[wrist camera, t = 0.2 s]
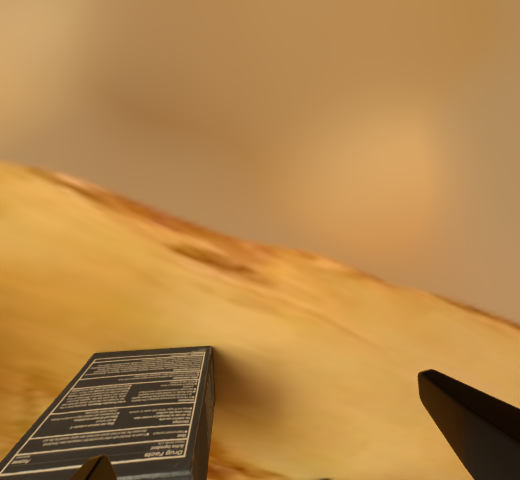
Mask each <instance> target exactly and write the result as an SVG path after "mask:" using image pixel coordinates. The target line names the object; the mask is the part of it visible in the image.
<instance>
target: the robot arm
mask: <svg viewBox="0 0 520 480" xmlns="http://www.w3.org/2000/svg"><path fill="white" fill-rule="evenodd" d="M418 386H419V395H420V399H421V401H422V403H423V405H424V407H425V408H426V410H427V411H428V413H429V414H430V416H431V417H432V419H433V420H434V422H435V423H436V425H437V426H438V428H439V429H440V431H441V432H442V434H443V435H444V437H445V438H446V440H447V441H448V443H449V444H450V446H451V447H452V449H453V450H454V452H455V453H456V455H457V456H458V458H459V459H460V460H461V462H462V463H463V465H464V466H465V468H466V469H467V470H468V472H469V473H470V474H471V476H472V477H473V478H474V480H520V409H519V408H517V407H514V406H512V405H510V404H508V403H506V402H503V401H501V400H499V399H497V398H495V397H493V396H490V395H488V394H486V393H484V392H482V391H480V390H477V389H475V388H473V387H471V386H469V385H466V384H464V383H462V382H460V381H458V380H456V379H453V378H451V377H449V376H447V375H445V374H443V373H440V372H438V371H436V370H433V369H429V370H425V371H422V372H419V373H418ZM69 480H117V476H116V473H115V471H114V468H113V466H112V464H111V462H110V459H109V457H108V456H107V455H105V454H103V455H99V456H95V457H92V458H90V459H88V460H87V461H86V462H85V463H84V464H83V465H82V466H81V467H80V468H79V469H78V471H77V472H76V473H75V474H74V475H73V476H72V477H71V478H70V479H69Z"/></svg>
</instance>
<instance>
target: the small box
mask: <svg viewBox="0 0 520 480" xmlns="http://www.w3.org/2000/svg"><path fill="white" fill-rule="evenodd" d="M214 405H215V386H214V365H213V348H212V347H211V346H203V347H187V348H171V349H155V350H139V351H123V352H109V353H95V354H93V355H92V356H91V358H90V359H89V360H88V362H87V363H86V364H85V365H84V367H83V368H82V369H81V370H80V371H79V373H78V374H77V375H76V376H75V377H74V379H73V380H72V381H71V382H70V383H69V384H68V385H67V387H66V388H65V389H64V390H63V391H62V392H61V393H60V395H59V396H58V397H57V398H56V399H55V400H54V402H53V403H52V404H51V405H50V406H49V407H48V408H47V409H46V410H45V412H44V413H43V414H42V415H41V416H40V417H39V419H37V421H36V422H35V423H34V424H33V426H32V427H31V428H30V429H29V430H28V431H27V432H26V433H25V435H24V436H23V437H22V438H21V439H20V441H19V442H18V443H17V444H16V445H15V446H14V447H13V448H12V450H11V451H10V452H9V453H8V455H7V456H6V457H5V458H4V459H3V460H2V461H1V462H0V480H69V479H70V478H71V477H72V476H73V475H74V474H75V473H76V472H77V471H78V469H79V468H80V467H81V466H82V465H83V464H84V463H85V462H86V461H87V460H88V459H90V458H92V457H95V456H99V455H103V454H105V455H107V456H108V457H109V459H110V462H111V464H112V466H113V468H114V471H115V473H116V476H117V480H207V470H208V459H209V451H210V441H211V432H212V423H213V412H214Z"/></svg>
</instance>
